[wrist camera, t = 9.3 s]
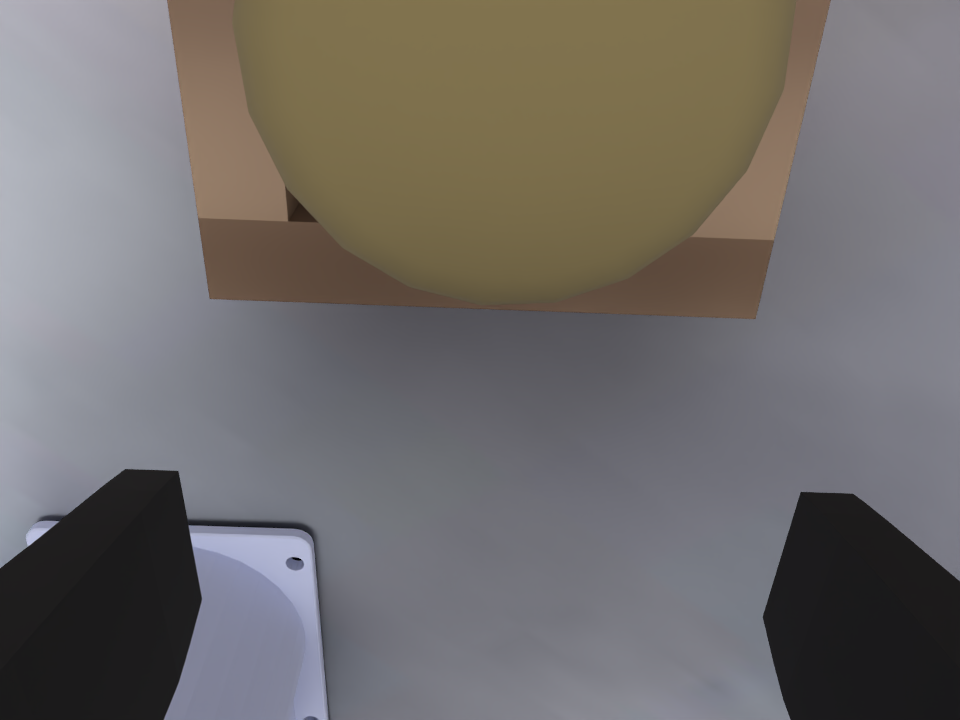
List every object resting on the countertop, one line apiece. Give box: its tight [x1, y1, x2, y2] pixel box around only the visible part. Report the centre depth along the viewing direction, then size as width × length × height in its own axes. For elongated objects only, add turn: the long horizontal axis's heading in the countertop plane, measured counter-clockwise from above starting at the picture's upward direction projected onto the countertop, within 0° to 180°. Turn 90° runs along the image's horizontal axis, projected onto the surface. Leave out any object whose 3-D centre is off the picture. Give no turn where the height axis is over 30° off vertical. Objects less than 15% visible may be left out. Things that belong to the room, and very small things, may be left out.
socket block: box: [167, 0, 831, 319], centre depth 15 cm, size 11×11×3 cm
